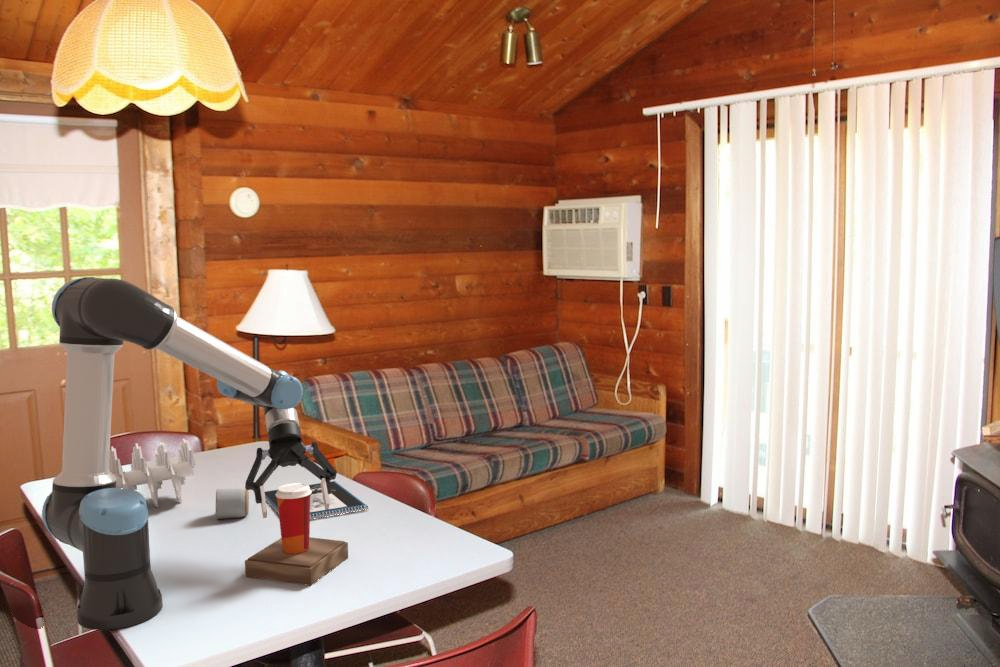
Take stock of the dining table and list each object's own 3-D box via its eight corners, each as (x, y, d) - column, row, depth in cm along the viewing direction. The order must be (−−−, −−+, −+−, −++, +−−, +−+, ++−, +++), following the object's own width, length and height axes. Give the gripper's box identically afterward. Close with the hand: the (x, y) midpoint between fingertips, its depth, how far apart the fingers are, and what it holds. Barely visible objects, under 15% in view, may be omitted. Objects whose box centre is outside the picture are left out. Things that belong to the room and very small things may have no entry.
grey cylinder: (249, 519, 218) (247, 490, 217) (215, 523, 216) (214, 493, 215) (250, 508, 228) (248, 480, 228) (218, 511, 226) (216, 482, 226)
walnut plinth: (311, 585, 176) (310, 567, 176) (245, 576, 181) (244, 558, 181) (348, 557, 191) (347, 540, 191) (286, 550, 196) (285, 533, 196)
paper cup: (299, 540, 191) (296, 480, 190) (321, 548, 186) (318, 486, 185) (270, 550, 185) (267, 488, 184) (291, 559, 180) (288, 495, 179)
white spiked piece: (97, 523, 229) (194, 504, 240) (97, 513, 214) (200, 493, 225) (89, 458, 234) (184, 442, 245) (87, 443, 219) (189, 427, 230)
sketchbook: (334, 485, 250) (334, 478, 250) (369, 513, 224) (369, 505, 224) (261, 496, 240) (260, 489, 240) (288, 526, 214) (288, 518, 214)
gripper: (334, 433, 207) (350, 511, 195) (227, 444, 197) (237, 526, 186) (338, 416, 201) (354, 495, 189) (228, 426, 192) (238, 510, 180)
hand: (296, 511), depth 187 cm, fingers open, 13 cm apart
